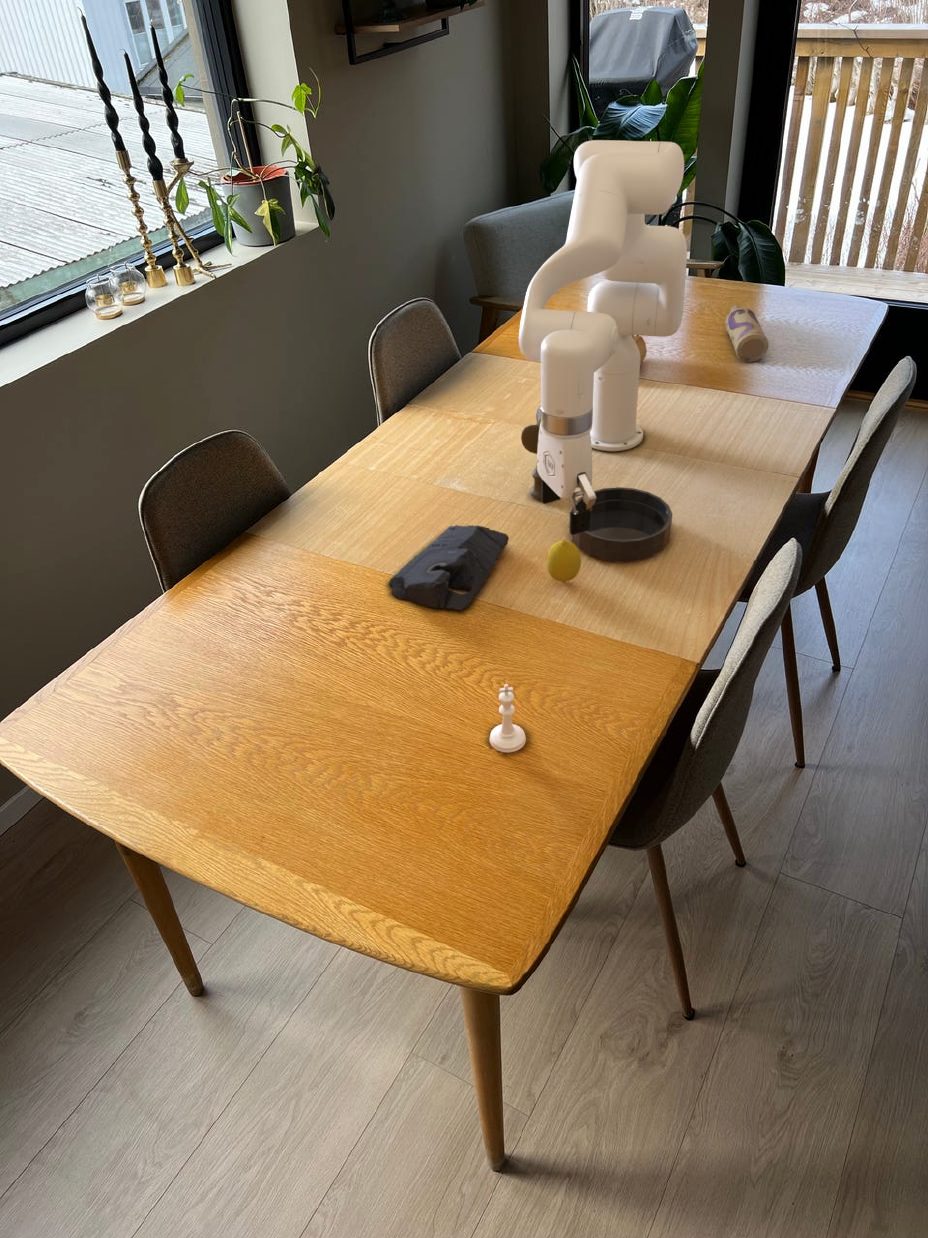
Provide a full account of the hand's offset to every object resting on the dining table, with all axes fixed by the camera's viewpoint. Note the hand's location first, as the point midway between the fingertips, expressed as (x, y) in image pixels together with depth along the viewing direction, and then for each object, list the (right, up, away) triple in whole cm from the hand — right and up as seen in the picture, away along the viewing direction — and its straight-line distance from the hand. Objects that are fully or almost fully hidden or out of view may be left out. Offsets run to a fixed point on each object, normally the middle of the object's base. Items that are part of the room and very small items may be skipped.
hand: (565, 515), depth 152 cm
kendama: (-1, +7, +29) cm, 30 cm away
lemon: (+1, -10, +8) cm, 13 cm away
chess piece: (-10, -33, -20) cm, 40 cm away
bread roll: (+21, +41, +70) cm, 84 cm away
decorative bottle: (+51, +50, +79) cm, 106 cm away
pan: (+11, -1, +17) cm, 21 cm away
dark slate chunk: (-17, -8, +12) cm, 23 cm away
